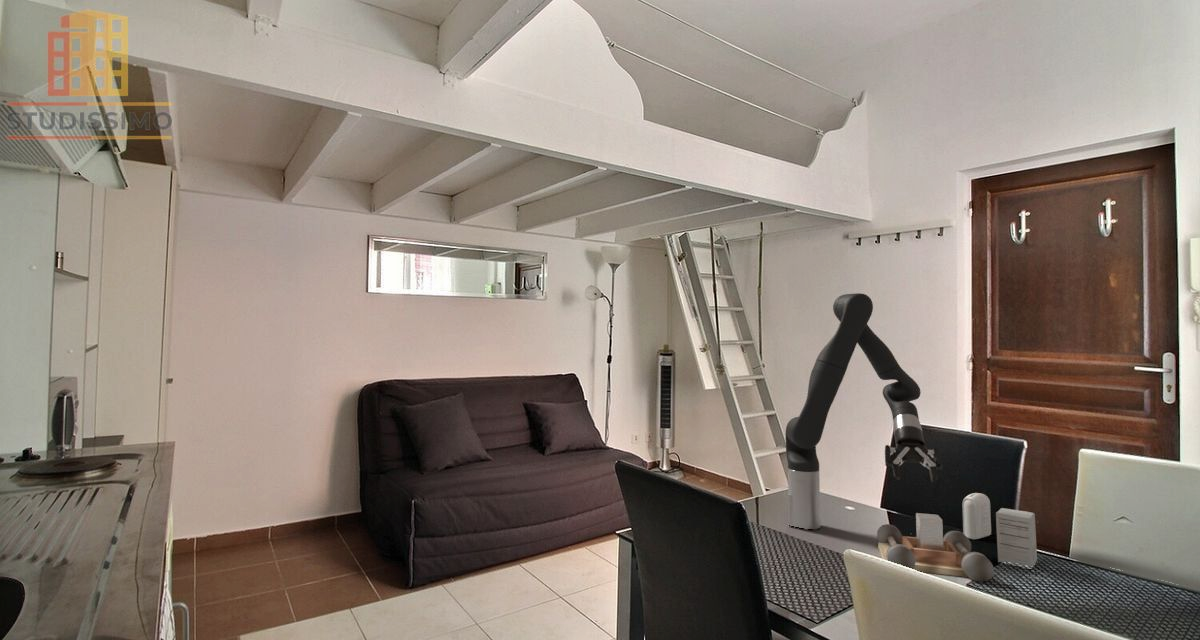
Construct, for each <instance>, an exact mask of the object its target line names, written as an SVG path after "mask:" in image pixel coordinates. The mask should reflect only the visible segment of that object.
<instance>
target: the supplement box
mask: <svg viewBox="0 0 1200 640" xmlns="http://www.w3.org/2000/svg"><path fill="white" fill-rule="evenodd" d="M1035 516H1036V514H1035V513H1034V512H1030V511H1025V510H1017V509H1011V508H1005V507H1001V508H999V510H998V511H996V512H995V521H996V523H995V526H996V545H997V546H996V547H997V563H999V562H1011V563H1018V564H1023V565H1028V566H1034V564H1035V563H1036V561H1037V562H1038V553H1037V551H1038V550H1037V549H1038V547H1037V536H1036V535H1037V533H1036V531H1037V530H1036V517H1035Z"/></svg>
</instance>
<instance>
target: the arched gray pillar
mask: <svg viewBox="0 0 1200 640" xmlns="http://www.w3.org/2000/svg"><path fill="white" fill-rule="evenodd" d="M991 521H992V519H991V501H990V498H989V497H988V496H987V495H986V494H984V493H979V492H974V493H973V492H972V493H970V494H968V495H967V496H965V497H964V498H963V500H962V530H963V531H962V533H963V534H964V535H965V536H966V537H967V538H968V539H969V540H970V539H971V540H979V539H982V538H986V537H989V536H990V535H992V522H991Z"/></svg>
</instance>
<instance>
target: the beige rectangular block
mask: <svg viewBox="0 0 1200 640" xmlns="http://www.w3.org/2000/svg"><path fill="white" fill-rule="evenodd" d="M915 519H916V520H915V526H916V527H915V529H916V537H917V548H920V549H930V550H939V551H943V538H944V531H943V530H944V527H943V519H942V518H941V517H940V515H938V514H930V513H919V512H916V513H915Z"/></svg>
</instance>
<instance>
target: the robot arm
mask: <svg viewBox="0 0 1200 640" xmlns="http://www.w3.org/2000/svg"><path fill="white" fill-rule="evenodd" d="M873 309H874V304H873V301H872V299H871V297H870V296H868V295H867V294H865V293H859V292H856V293H846V294H841V295H840V296H838V297H837V298H836V299H835V300H834V302H833V305H832V310H833V314H834V315H835V317H836V318H837V320H838V321H839V325H838V328H837V330H836V332H835V333H834V334H833V336H832V337H831V338H830V340H829V341H827V343H826V344H825V345H824V347H823V348H822V350H821V351H820V352H819V354H818V355H817V357H816V359H815V362H814V365H813V367H812V370H811V373H810V377H809V380H808V386H807V387H808V388H807V395H806V400H805V403H804V405H803V408H802V409H801V412H800V414H799V416H795V417H793V418H791V419H790V420H789V421H788V422H787V424H786V426H785V453H786V454H785V455H786V456H785V457H786V460H787V461H786V462H787V473H788V474H787V475H788V477H787V479H788V480H787V481H788V482H787V483H788V484H787V485H788V486H787V487H788V488H787V490H788V495H787V499H788V500H787V501H788V502H787V504H788V509H787V510H788V515H787V516H788V526H789V525H794V526H796V527H799V528H804V529H803V530H808V529H813V530H817V529H818V528H819V529H820V528H821V494H820V493H821V491H820V490H821V489H820V488H821V487H820V480H821V479H820V462H819V458H818V456H817V448H816V447H817V445H818V444H819V443H820V441H821V438H822V436H823V432H824V429H825V425H826V421H827V418H828V414H829V412H830V409H831V407H832V405H833V402H834V401H835V398H836V396H837V393H838V391H839V389H840V387H841V384H842V382H843V379H844V377H845V375H846V372H847V369H848V366H849V364H850V361H851V360H852V359H851V358H852V356H853V354H854V352H855V348H856V347H857V345H858V346H859V347H860V349H861V350H862V351H863V353H864V355H865V357H866V358H867V359H868V362H869V363H870V365H871V366H872V368H873V369H874V371H875V374H876V375H877V376H878V378H879V379H880V380H882V381H890V380H891V381H892V380H893V381H894V382H891V383H888V384H886V385H885V386H884V387H883V389H882V396H883V398H884V400H885V402H886V403H887V405H888V407H889V409H890V412H891V415H892V421H893V423H892V424H893V425H892V428H893V429H892V430H893V434H894V440H895V441H894V442H895V447H894V446H893V447H892V446H890V445H889V444H885V446H884V461H885V462H884V464H885V467H888V468H889V467H891V469H892V470H893V471H892V472H893V477H894V478H896V480H899V481H900V480H901V469H900V466H901V465H903V463H904V462H906V464H912V463H913V464H916V465H917V464H921V466H923V467H924V468H927V469H928V470H929V476H930V477H929V478H930V480H931V481H930V482H931V483H935V482H936V481H937V480H938V471H942V469H943V460H942V456H941V453H940V450H939V448H938V447H934V448H933V449H928V448H927V447H926V444H925V439H924V438H925V437H924V433H923V429H922V425H921V422H920V419H919V413H918V408H917V405H915V404H914V403H913V402H912V401H916V400H918V399H919V398H920V397H921V388H920V385H919V384H918V383H917V382H916V381H915V380H914V378H912V377H911V376H910V375H909V374H908V373H907V372H906V371H905V370H904V369H903V368H902V366H901V365H900V364H899V362H898V360H897V359H896V357H895V356H894V354H893V352H892V350H890V348H889V347H888V346H887V344H886V343H885V342H884V341H883V340H882V339H881V338H879V336H877V334H875V332H874V331H873V330H872V329H871V327H870V326H869V325H868V323H869V321H870V318H871V317H872V315H873V311H874V310H873ZM893 454H896V455H897V456H896V458H895V459H894V460H892V459H891V456H892V455H893ZM928 455H930V457H931V458H932V459H934V460H931V458H930V457H929V456H928ZM933 461H934V462H933ZM799 528H798V529H799Z"/></svg>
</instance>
